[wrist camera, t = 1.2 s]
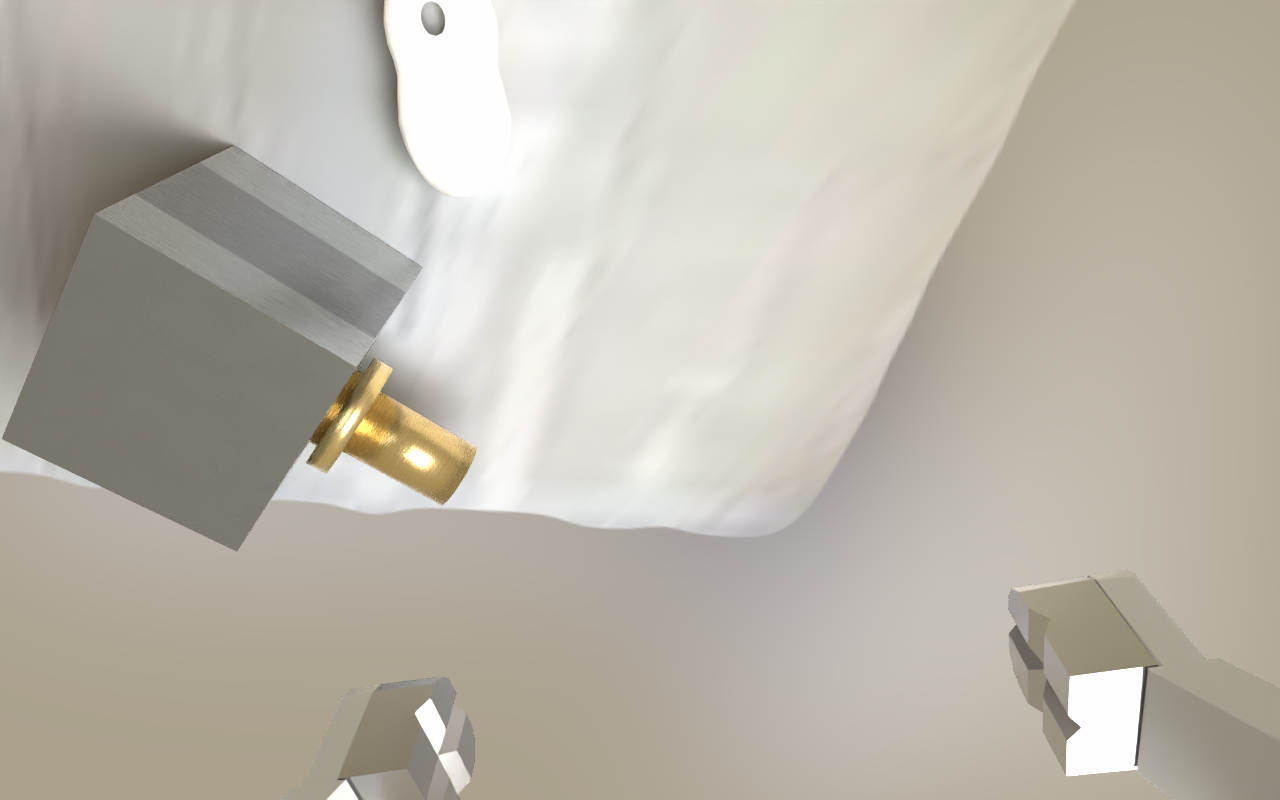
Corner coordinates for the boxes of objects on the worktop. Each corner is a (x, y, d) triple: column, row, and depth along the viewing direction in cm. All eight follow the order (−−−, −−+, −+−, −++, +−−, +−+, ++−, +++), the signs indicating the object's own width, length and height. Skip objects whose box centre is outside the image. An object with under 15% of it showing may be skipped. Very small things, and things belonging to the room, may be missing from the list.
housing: (146, 326, 49) (1, 438, 38) (233, 145, 43) (94, 213, 32) (321, 423, 53) (237, 551, 41) (422, 267, 47) (356, 367, 36)
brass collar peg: (218, 354, 46) (155, 415, 40) (266, 265, 43) (207, 316, 37) (441, 478, 51) (415, 550, 45) (498, 405, 48) (478, 471, 42)
